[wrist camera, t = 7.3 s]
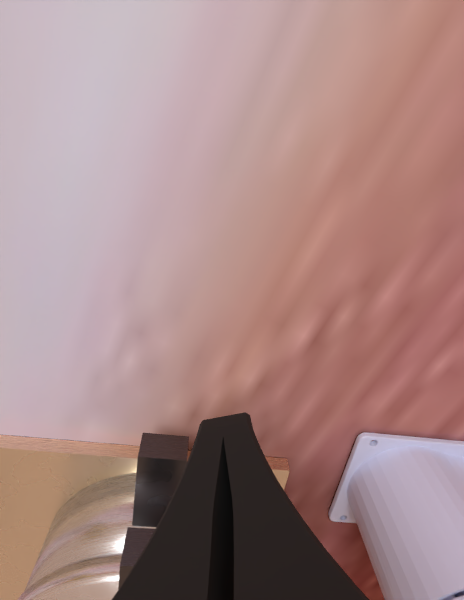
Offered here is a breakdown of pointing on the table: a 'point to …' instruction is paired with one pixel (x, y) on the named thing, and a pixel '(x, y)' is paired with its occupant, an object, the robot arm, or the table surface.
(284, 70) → the table surface
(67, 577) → the cooker lid
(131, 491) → the tan square board
